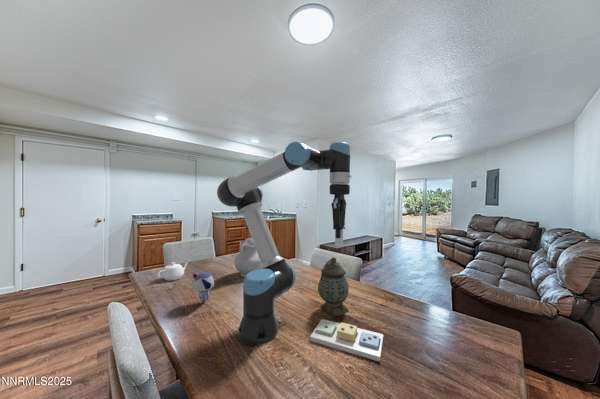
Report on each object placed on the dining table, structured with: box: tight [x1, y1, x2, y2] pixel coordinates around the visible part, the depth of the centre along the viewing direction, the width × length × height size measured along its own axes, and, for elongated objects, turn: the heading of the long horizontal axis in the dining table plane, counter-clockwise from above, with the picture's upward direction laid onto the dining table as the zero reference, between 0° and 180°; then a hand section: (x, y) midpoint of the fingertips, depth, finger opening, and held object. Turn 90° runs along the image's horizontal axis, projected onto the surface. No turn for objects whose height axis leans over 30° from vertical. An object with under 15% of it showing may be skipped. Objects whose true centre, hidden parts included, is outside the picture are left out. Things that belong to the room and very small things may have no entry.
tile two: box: [337, 322, 358, 342], centre depth 82 cm, size 6×6×3 cm
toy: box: [192, 271, 215, 304], centre depth 111 cm, size 11×10×15 cm
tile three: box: [360, 332, 380, 350], centre depth 79 cm, size 6×6×3 cm
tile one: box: [316, 320, 336, 337], centre depth 85 cm, size 6×6×3 cm
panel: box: [309, 318, 384, 363], centre depth 82 cm, size 24×13×2 cm, turn 65°
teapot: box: [157, 261, 189, 282], centre depth 144 cm, size 20×12×10 cm, turn 150°
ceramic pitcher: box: [233, 237, 262, 278], centre depth 151 cm, size 22×20×25 cm
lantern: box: [317, 257, 350, 316], centre depth 105 cm, size 14×14×25 cm
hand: (338, 246), depth 85 cm, fingers closed
